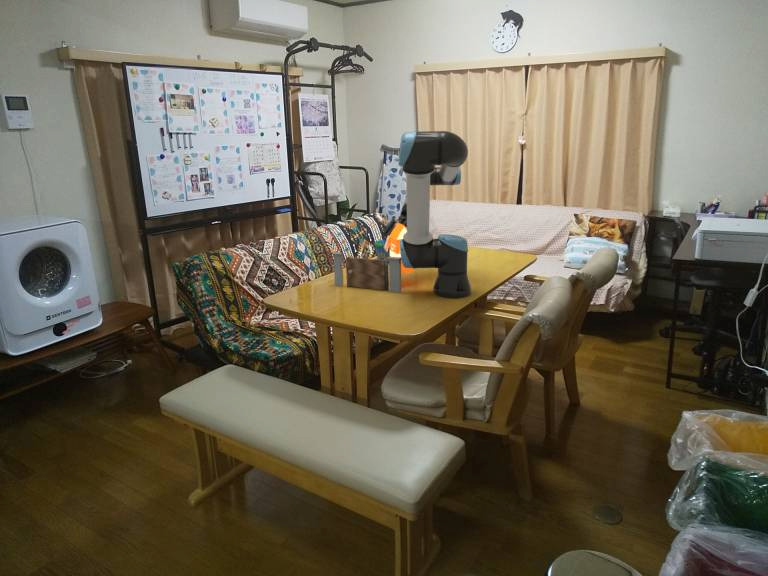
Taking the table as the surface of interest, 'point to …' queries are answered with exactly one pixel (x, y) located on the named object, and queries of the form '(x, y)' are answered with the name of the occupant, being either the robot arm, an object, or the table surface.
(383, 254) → the snack cup
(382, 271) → the gate
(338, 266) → the grey rectangular posts
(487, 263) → the table surface
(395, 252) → the orange juice
